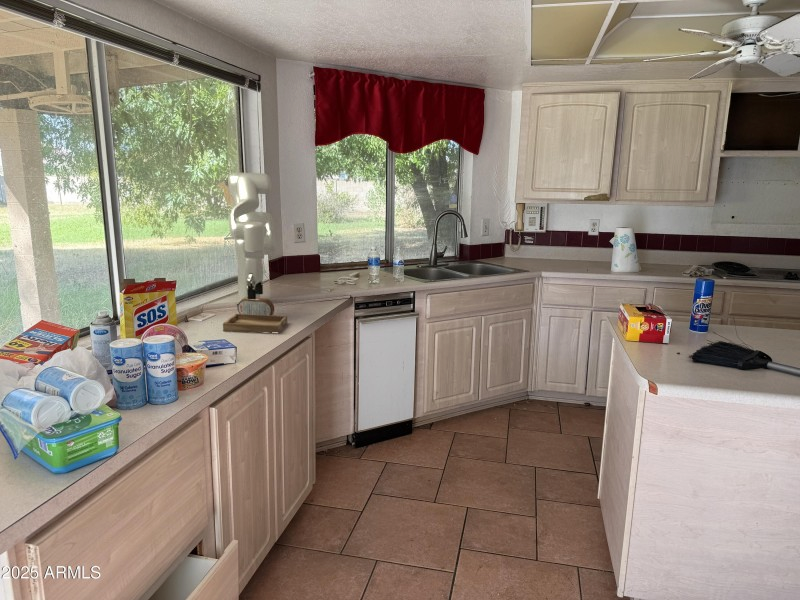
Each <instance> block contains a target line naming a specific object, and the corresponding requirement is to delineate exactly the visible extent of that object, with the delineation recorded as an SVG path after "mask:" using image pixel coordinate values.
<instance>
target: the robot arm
mask: <svg viewBox="0 0 800 600" xmlns="http://www.w3.org/2000/svg"><path fill="white" fill-rule="evenodd" d="M227 183H228V184H227V185H228V190H229V193H230V196H231V199H232V200H233V203H234V207H233V208H232V210H231V211H230V213H229V215H228V216H229V218H228V221H229V222H228V223H229V232H230V236H231V238H232V239H234V247H235V252H236V253H235V254H236V258H237V259H236V261H237V262H236V263H237V288H238V289H237V291H238V292H237V293H238V295H237V296H238V298H237V299H239V300H242V299H243V298H246V297H248V299H256V298H261V295H264V282H263V280H264V261H263V259H265V256H269V255H273V254H274V253H275V252H276V248H277V247H276V246H277V245H276V234H275V226H274V219H273V216H272V214H270V213H269V212H266V211H256V210H257V209H258V208H259V207H260V199H259V195H269V194H270V193H271V191H272V180H271V177H270V176H269V175H268V174H267V173H264V172H262V173H261V172H233V173H231V174H230V175H229V176H228V178H227Z"/></svg>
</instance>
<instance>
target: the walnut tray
mask: <svg viewBox="0 0 800 600" xmlns="http://www.w3.org/2000/svg"><path fill="white" fill-rule="evenodd" d="M287 324H288V316H287V315H274V314H273V315H252V314H239V313H235V314H233V315H232V316H231V317H229V318H228V319H227V320H226V321H224V322H223V323H222V332H228V333H229V332H231V331H232V332H233V333H249V332H269V333H272V332H279V331H280V330H281V329H282V328H283V329H284V328H285V326H286V325H287ZM283 329H282V330H283ZM282 330H281V331H282ZM281 331H280V332H281ZM232 332H231V333H232ZM280 332H279V333H280ZM269 333H268V334H269Z"/></svg>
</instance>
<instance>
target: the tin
mask: <svg viewBox="0 0 800 600" xmlns="http://www.w3.org/2000/svg"><path fill="white" fill-rule="evenodd" d="M237 312H238V314H252V315H273V316H274V313H275V305H274V303H273V302H272V301H271V300H269V299H268V298H261V297H260V298H256V299H248V297H246V298H243V299H242V300H241V301H240V302H239V303H238V305H237Z"/></svg>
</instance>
